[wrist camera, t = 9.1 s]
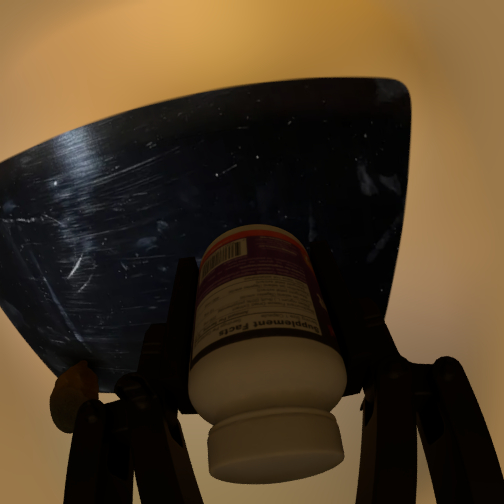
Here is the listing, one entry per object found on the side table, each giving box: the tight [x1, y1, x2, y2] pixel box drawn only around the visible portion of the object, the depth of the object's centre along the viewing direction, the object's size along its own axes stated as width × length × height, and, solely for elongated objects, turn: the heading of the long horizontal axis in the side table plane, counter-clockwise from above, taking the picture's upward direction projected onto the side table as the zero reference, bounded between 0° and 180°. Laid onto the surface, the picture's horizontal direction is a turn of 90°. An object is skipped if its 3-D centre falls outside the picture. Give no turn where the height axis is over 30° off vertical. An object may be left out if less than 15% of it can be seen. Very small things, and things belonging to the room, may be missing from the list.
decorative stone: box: [50, 360, 99, 433], centre depth 40 cm, size 10×6×15 cm, turn 96°
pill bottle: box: [188, 224, 347, 484], centre depth 11 cm, size 5×5×10 cm
